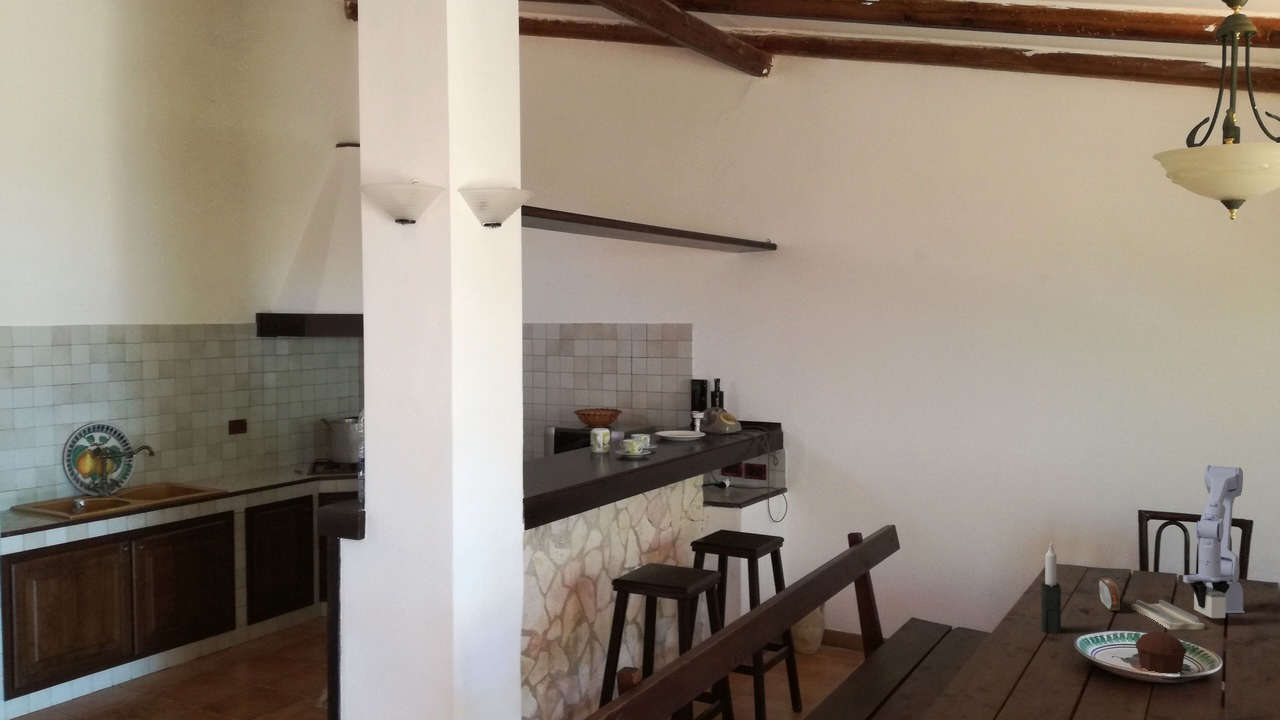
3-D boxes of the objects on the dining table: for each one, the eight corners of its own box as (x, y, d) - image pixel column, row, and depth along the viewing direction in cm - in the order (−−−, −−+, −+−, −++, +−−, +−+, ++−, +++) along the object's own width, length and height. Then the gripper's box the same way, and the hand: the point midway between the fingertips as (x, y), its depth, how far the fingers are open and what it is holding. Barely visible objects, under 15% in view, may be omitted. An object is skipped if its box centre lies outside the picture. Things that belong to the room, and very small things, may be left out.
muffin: (1126, 665, 254) (1127, 626, 253) (1171, 665, 253) (1171, 626, 253) (1149, 681, 242) (1149, 640, 242) (1195, 681, 241) (1195, 640, 241)
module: (1207, 609, 297) (1207, 586, 297) (1225, 617, 288) (1225, 593, 288) (1194, 609, 297) (1194, 586, 297) (1211, 618, 288) (1211, 594, 288)
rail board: (1163, 608, 307) (1163, 598, 306) (1204, 629, 285) (1204, 618, 284) (1131, 608, 307) (1131, 599, 306) (1169, 629, 285) (1169, 619, 284)
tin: (1121, 614, 301) (1121, 586, 301) (1109, 613, 301) (1109, 586, 301) (1108, 601, 316) (1108, 575, 315) (1097, 601, 316) (1097, 574, 316)
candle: (1059, 628, 286) (1059, 542, 286) (1061, 633, 281) (1061, 545, 281) (1040, 627, 288) (1040, 541, 287) (1041, 632, 283) (1041, 544, 282)
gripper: (1192, 564, 288) (1192, 610, 288) (1242, 563, 288) (1242, 610, 288) (1179, 558, 295) (1179, 604, 296) (1228, 558, 295) (1227, 603, 296)
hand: (1209, 606), depth 292 cm, fingers closed on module, 4 cm apart
